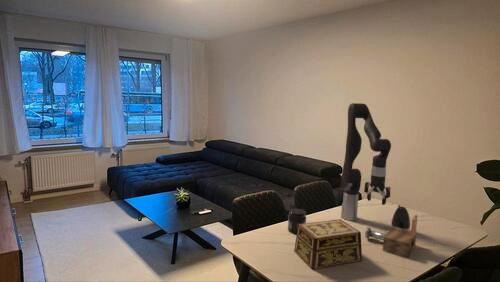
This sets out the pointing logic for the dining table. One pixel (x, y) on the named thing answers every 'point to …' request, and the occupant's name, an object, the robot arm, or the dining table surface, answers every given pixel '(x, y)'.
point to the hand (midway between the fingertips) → (376, 202)
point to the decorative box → (328, 244)
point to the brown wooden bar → (374, 234)
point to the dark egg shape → (401, 218)
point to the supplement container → (296, 219)
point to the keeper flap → (414, 226)
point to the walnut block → (399, 242)
